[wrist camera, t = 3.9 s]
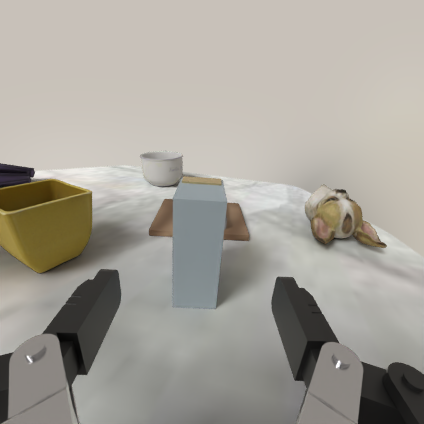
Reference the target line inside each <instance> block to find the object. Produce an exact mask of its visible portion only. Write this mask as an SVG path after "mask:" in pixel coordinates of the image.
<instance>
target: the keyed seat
mask: <svg viewBox="0 0 424 424" xmlns="http://www.w3.org/2000/svg"><path fill="white" fill-rule="evenodd" d="M149 235H152V236H170V237H173V199H164V201H163V203H162V205H161V207H160V209H159V211H158V213H157V215H156V217H155V219H154V221H153V223H152V225H151V227H150V229H149ZM223 239H224V240H242V241H248V240H249V233H248V230H247V227H246V224H245V221H244V218H243V215H242V212H241V209H240V206H239V204H238V203H227V209H226V218H225V227H224V237H223Z"/></svg>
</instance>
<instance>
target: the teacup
mask: <svg viewBox="0 0 424 424" xmlns="http://www.w3.org/2000/svg"><path fill="white" fill-rule="evenodd" d="M182 157H183V155H182V154H180V153H177V152H168V151H159V152H148V153H144V154H141V155H140V158H141V163H142V171H143V176H144V178H145V179H146V180H147V181H148V182H150V183H151V184H152V185H154V186H171V185H174V184H175V183H176V182H177V181H178V180H179V179H180V178H181V176H182Z"/></svg>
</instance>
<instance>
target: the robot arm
mask: <svg viewBox="0 0 424 424" xmlns="http://www.w3.org/2000/svg"><path fill="white" fill-rule="evenodd" d="M120 301H121V289H120V281H119V273H118V271H117V270H108V269H101V270H100V271H99V272H98V273H97V275H96V276H95V278H94V279H93V280H89V279H88V280H87V281H85V282H84V283H82V284H81V285H80V286H78V287H77V289H76V290H75V291H74V293H73V294H72V295H71V297H70V298H69V299H68V301H67V302H66V304H65V305H64V306H63V307H62V308H61V310H60V311H59V312H58V314H57V315H56V316H55V318H54V319H53V320H52V322H51V323H50V324H49V326H48V327H47V328H46V330H45V331H44V332H43V333H42V334H41V335H38V336H35V337H33V338H31V339H29V340H27V341H26V342H24V343H23V344H21V345H20V346H19V347H18V348H17V349H16V350H15V351H14V352H13V353H9V354H5V355H1V356H0V424H2V423H3V424H80V422H79V417H78V412H77V407H76V402H75V397H74V392H73V387H72V383H73V381H74V379H75V377H76V376H77V375H87V374H88V372H89V370H90V368H91V365H92V363H93V361H94V359H95V357H96V355H97V353H98V350H99V348H100V346H101V344H102V342H103V340H104V338H105V335H106V333H107V331H108V329H109V327H110V325H111V323H112V320H113V318H114V316H115V314H116V312H117V310H118V308H119V305H120ZM272 312H273V315H274V318H275V321H276V325H277V328H278V331H279V334H280V337H281V340H282V343H283V346H284V349H285V352H286V355H287V358H288V361H289V364H290V368H291V371H292V374H293V377H294V380H295V381H304V382H305V385H306V388H307V389H306V392H305V395H304V398H303V401H302V404H301V407H300V410H299V414H298V417H297V420H296V423H295V424H424V375H423V374H422V373H421V372H419V371H418V370H416V369H415V368H413V367H411V366H409V365H406V364H403V363H398V362H395V363H392V364H390V365H389V367H388V369H387V370H385V369H382V368H379V367H376V366H373V365H370V364H367V363H364V362H361V361H360V359H359V358H358V357H357V355H356V354H355V353H354V352H353V351H351V350H350V349H349V348H347V347H346V346H344V345H342V344H340V343H339V341H338V340H337V338H336V336H335V334H334V333H333V331H332V329H331V327H330V326H329V324H328V322H327V321H326V319H325V317H324V315H323V314H322V312H321V310H320V308H319V307H318V306H317V303H316V301H315V300H314V298H313V296H312V295H311V294H310V293H309V292H308V291H306V290H305V289H304V288H299V287H298V285H297V283H296V281H295V279H294V278H293V277H277V279H276V283H275V287H274V292H273V297H272Z"/></svg>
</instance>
